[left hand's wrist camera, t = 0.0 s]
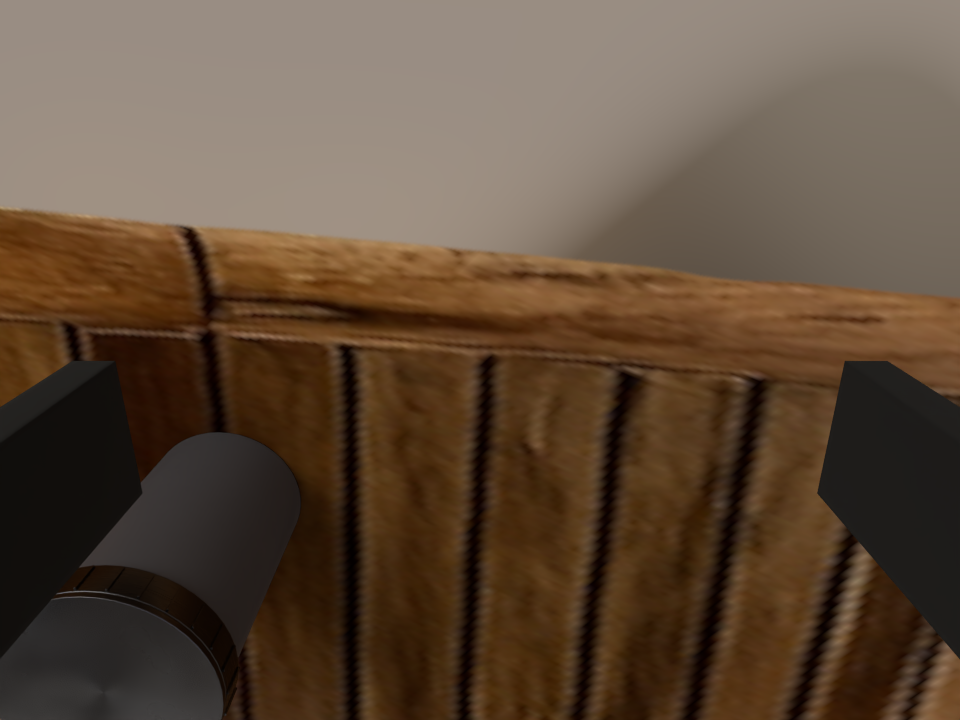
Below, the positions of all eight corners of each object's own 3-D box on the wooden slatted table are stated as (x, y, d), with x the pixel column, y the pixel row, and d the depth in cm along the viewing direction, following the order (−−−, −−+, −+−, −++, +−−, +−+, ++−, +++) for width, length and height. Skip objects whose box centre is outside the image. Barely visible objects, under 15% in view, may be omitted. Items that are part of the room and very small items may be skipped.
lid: (118, 522, 30) (92, 552, 28) (287, 673, 33) (274, 710, 31) (-37, 638, 32) (-72, 674, 30) (134, 768, 35) (113, 809, 33)
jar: (229, 404, 43) (99, 561, 28) (330, 508, 46) (260, 700, 31) (124, 484, 45) (-47, 668, 30) (227, 579, 48) (116, 789, 33)
